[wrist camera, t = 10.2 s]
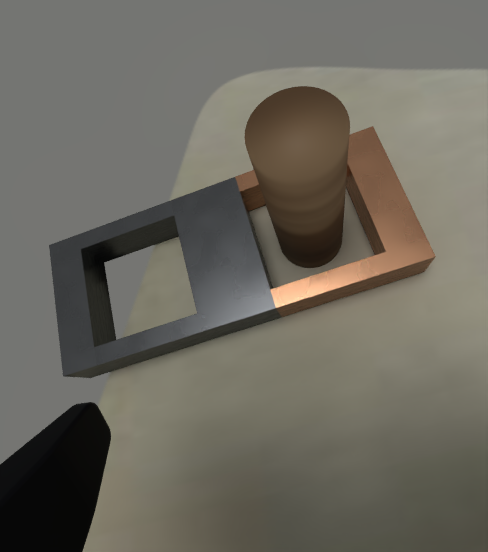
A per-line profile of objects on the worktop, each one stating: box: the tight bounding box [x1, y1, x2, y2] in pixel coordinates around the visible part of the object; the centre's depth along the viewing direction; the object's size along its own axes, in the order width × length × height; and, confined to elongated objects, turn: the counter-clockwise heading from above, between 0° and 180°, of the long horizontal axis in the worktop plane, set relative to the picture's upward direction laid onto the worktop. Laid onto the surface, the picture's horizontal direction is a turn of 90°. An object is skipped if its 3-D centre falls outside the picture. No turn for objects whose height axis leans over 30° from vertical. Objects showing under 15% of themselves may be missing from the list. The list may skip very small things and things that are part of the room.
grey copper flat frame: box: [49, 126, 436, 378], centre depth 22 cm, size 8×20×2 cm, turn 105°
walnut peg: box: [245, 86, 350, 268], centre depth 18 cm, size 4×4×10 cm
